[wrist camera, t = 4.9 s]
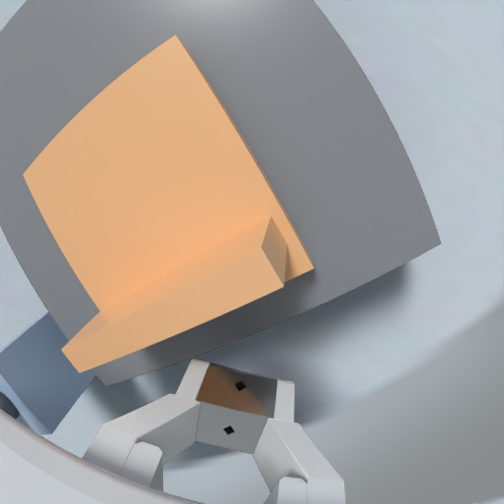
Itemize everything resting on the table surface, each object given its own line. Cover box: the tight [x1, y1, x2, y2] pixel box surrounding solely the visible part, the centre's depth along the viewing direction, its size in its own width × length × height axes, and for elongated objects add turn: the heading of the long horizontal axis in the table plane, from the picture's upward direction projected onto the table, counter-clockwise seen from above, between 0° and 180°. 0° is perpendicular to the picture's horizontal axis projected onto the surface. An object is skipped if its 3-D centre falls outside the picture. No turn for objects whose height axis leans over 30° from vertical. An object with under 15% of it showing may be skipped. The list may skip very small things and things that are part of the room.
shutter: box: [23, 35, 314, 373], centre depth 7 cm, size 7×7×3 cm
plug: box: [0, 312, 96, 435], centre depth 12 cm, size 4×4×8 cm
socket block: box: [0, 0, 441, 386], centre depth 10 cm, size 14×16×4 cm
